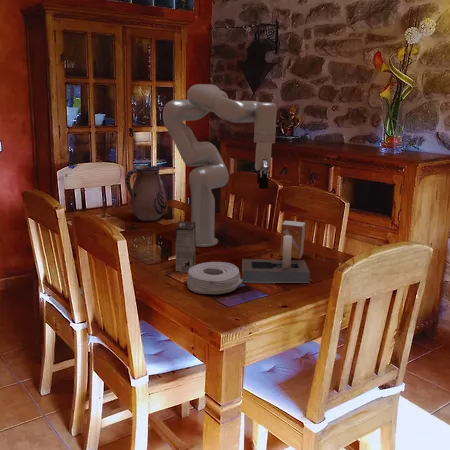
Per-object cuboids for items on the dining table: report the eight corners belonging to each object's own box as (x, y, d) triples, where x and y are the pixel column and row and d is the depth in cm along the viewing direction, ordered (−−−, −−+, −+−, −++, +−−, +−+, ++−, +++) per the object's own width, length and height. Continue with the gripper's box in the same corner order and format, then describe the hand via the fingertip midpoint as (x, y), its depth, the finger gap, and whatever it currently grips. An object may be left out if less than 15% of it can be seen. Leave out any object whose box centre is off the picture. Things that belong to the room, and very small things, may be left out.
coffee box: (178, 263, 192) (178, 220, 188) (195, 264, 192) (196, 221, 188) (175, 272, 184) (175, 227, 179) (193, 273, 183) (193, 228, 179)
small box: (279, 256, 203) (281, 223, 200) (282, 251, 209) (284, 220, 206) (300, 259, 201) (302, 226, 197) (303, 254, 207) (305, 222, 203)
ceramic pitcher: (174, 218, 255) (174, 166, 249) (145, 227, 238) (144, 172, 232) (146, 212, 264) (145, 162, 258) (116, 221, 247) (115, 168, 240)
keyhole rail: (243, 282, 176) (243, 270, 175) (241, 270, 187) (242, 259, 186) (309, 284, 176) (310, 272, 175) (303, 271, 188) (304, 260, 186)
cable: (245, 280, 179) (245, 263, 177) (233, 299, 162) (234, 281, 161) (195, 274, 183) (195, 258, 181) (179, 293, 166) (179, 275, 165)
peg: (278, 278, 179) (280, 238, 175) (277, 272, 184) (278, 233, 181) (295, 278, 179) (297, 238, 175) (293, 272, 184) (294, 234, 181)
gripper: (252, 135, 195) (250, 181, 200) (255, 140, 179) (253, 190, 183) (272, 136, 195) (270, 181, 200) (277, 141, 179) (275, 190, 183)
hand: (262, 185), depth 191 cm, fingers open, 9 cm apart
